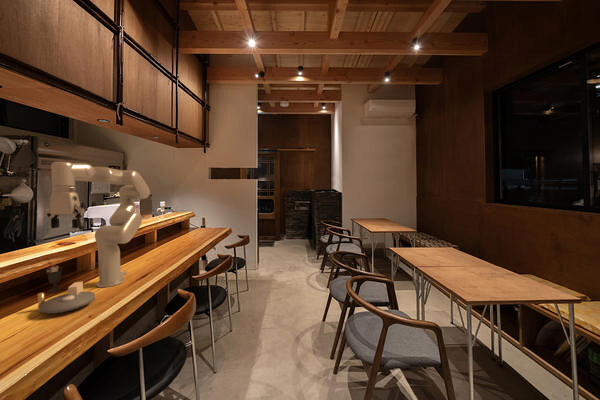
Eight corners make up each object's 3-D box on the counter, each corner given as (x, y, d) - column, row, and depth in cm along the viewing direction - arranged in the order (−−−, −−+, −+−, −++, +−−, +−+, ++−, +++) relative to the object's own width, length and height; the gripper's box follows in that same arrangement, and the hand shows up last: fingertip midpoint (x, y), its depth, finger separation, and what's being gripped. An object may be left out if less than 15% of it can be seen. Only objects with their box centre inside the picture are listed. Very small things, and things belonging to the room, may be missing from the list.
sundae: (42, 291, 129) (41, 262, 128) (59, 287, 135) (57, 259, 134) (50, 293, 126) (49, 263, 126) (67, 288, 133) (65, 260, 132)
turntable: (74, 292, 123) (74, 281, 123) (108, 294, 121) (107, 282, 121) (26, 312, 104) (25, 298, 103) (65, 314, 101) (64, 301, 101)
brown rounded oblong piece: (56, 302, 117) (55, 287, 117) (85, 304, 115) (84, 288, 115) (36, 310, 109) (35, 294, 109) (67, 312, 107) (66, 296, 107)
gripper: (90, 189, 118) (91, 226, 119) (53, 189, 118) (55, 226, 119) (75, 189, 110) (76, 229, 111) (36, 189, 111) (38, 229, 112)
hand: (65, 227), depth 115 cm, fingers open, 9 cm apart
